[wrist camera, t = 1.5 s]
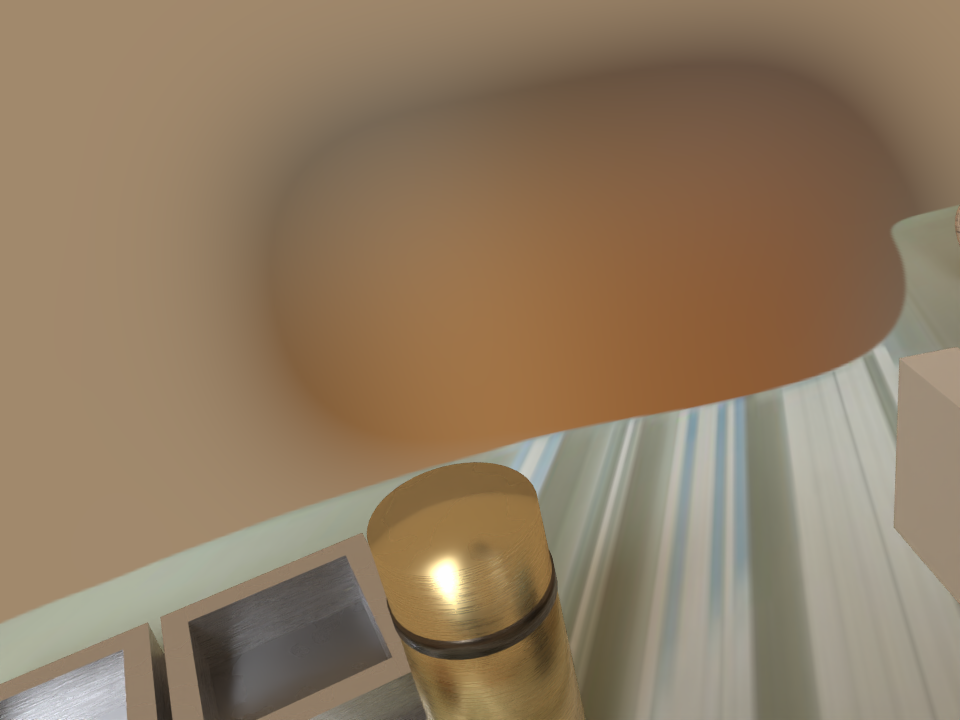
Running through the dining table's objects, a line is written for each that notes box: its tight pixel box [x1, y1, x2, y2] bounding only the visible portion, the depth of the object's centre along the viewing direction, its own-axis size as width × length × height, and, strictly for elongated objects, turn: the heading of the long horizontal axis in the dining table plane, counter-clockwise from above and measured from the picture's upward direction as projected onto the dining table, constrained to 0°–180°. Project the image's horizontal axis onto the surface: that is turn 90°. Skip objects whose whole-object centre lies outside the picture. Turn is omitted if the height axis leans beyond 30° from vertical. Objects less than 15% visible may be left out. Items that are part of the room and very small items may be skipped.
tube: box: [367, 462, 586, 720], centre depth 26 cm, size 5×5×12 cm
